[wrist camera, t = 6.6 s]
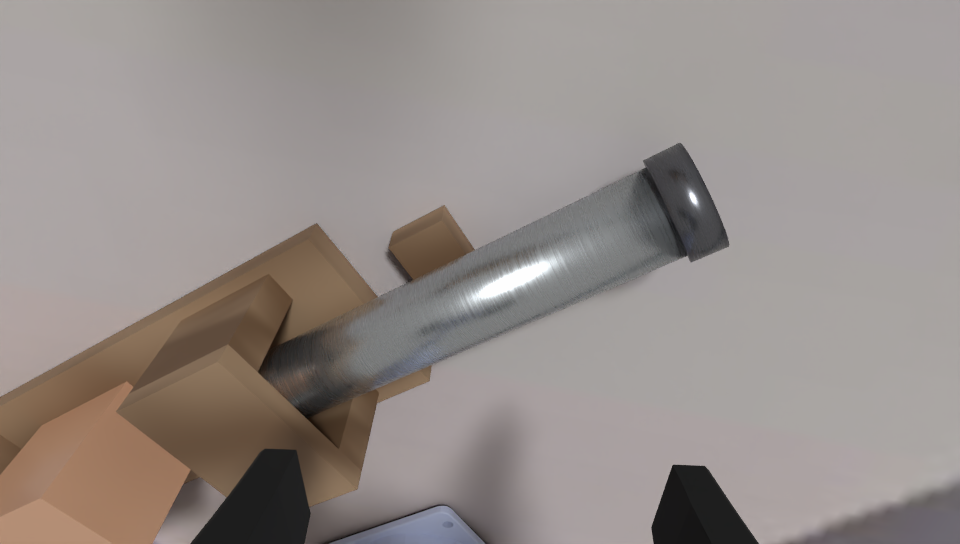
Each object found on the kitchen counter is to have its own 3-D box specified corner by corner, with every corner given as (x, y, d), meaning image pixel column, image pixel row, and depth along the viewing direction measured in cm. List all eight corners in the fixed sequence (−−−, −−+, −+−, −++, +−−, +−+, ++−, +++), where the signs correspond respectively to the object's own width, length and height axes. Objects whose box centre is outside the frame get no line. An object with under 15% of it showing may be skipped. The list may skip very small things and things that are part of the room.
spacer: (203, 443, 24) (142, 562, 20) (120, 480, 25) (46, 598, 21) (126, 381, 22) (40, 498, 18) (41, 425, 23) (-57, 542, 19)
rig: (524, 323, 21) (532, 435, 17) (105, 502, 28) (34, 616, 23) (418, 167, 18) (394, 257, 14) (-28, 412, 25) (-140, 525, 20)
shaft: (704, 212, 17) (739, 268, 15) (268, 406, 22) (239, 472, 20) (669, 126, 16) (701, 172, 13) (211, 354, 21) (173, 419, 18)
